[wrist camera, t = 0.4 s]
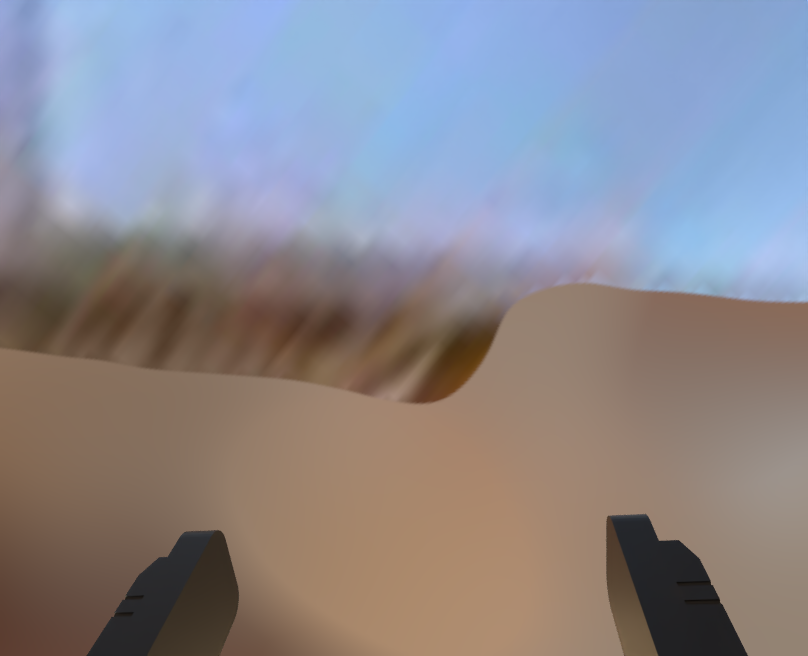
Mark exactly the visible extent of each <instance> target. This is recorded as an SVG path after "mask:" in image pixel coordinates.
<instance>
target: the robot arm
mask: <svg viewBox="0 0 808 656" xmlns="http://www.w3.org/2000/svg"><path fill="white" fill-rule="evenodd" d="M606 538H607V539H606V542H607V543H606V546H607V547H606V548H607V550H606V551H607V552H606V557H607V558H606V560H607V561H606V570H607V571H606V574H607V589H608V595H609V602H610V607H611V610H612V614H613V618H614V621H615V625H616V628H617V632H618V635H619V639H620V642H621V646H622V649H623V653H624V656H748V655H747V653H746V651H745V649H744V647H743V645H742V643H741V641H740V639H739V637H738V635H737V633H736V631H735V629H734V627H733V625H732V623H731V621H730V619H729V617H728V615H727V613H726V611H725V609H724V607H723V605H722V604H721V603H720V599H719V597H718V595H717V593H716V591H715V589H714V587H713V585H711V582H710V579H709V577H708V575H707V573H706V571H705V569H704V567H703V565H702V563H701V561H700V559H699V558H698V557H697V556H696V555H695V554H694V553H692V552H691V551H690V550H689V549H688V548H687V547H686V546H685V545H684V544H683V543H681V542H680V541H679V540H671V541H659V540H658V538H657V535H656V533H655V531H654V528H653V526H652V524H651V521H650V519H649V517H648V516H647V515H646V514H640V515H639V514H638V515H616V516H608V517H607V526H606ZM238 601H239V592H238V585H237V581H236V577H235V573H234V570H233V566H232V562H231V558H230V555H229V551H228V547H227V543H226V540H225V537H224V534H223V533H222V532H221V531H219V530H214V531H191V532H184V533H183V534H182V535H181V536H180V538H179V539H178V541H177V543H176V545H175V546H174V548H173V549H172V551H171V552H170V554H169V556H168V557H160V558H158V559H157V560H156V561H155V562H153V563H152V564H151V565H150V566H149V567H148V568H147V569H146V570H144V571H143V572H142V573H141V574H140V575H139V576H138V577H137V579H136V580H135V582H134V583H133V585H132V586H131V588H130V590H129V591H128V593H127V594H126V598H125V600H122V602H121V603H120V605H119V607H118V608H117V610H116V611H115V615H114V617H111V619H110V621H109V622H108V624H107V625H106V627H105V628H104V630H103V631H102V633H101V634H100V636H99V638H98V639H97V641H96V642H95V644H94V645H93V647H92V648H91V650H90V651H89V653H88V654H87V656H219V655H220V653H221V651H222V648H223V646H224V643H225V641H226V638H227V636H228V634H229V631H230V629H231V627H232V624H233V622H234V619H235V616H236V613H237V609H238Z"/></svg>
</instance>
